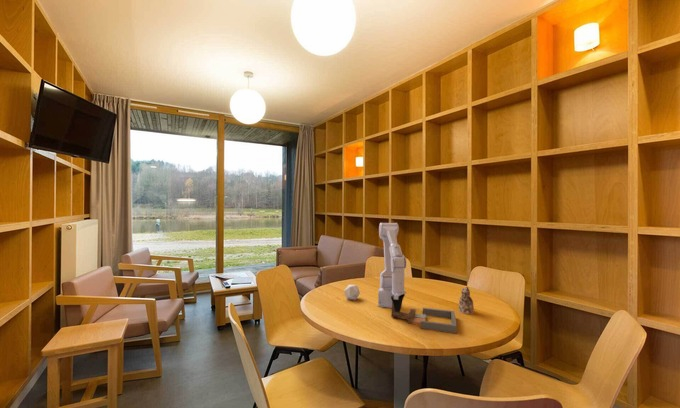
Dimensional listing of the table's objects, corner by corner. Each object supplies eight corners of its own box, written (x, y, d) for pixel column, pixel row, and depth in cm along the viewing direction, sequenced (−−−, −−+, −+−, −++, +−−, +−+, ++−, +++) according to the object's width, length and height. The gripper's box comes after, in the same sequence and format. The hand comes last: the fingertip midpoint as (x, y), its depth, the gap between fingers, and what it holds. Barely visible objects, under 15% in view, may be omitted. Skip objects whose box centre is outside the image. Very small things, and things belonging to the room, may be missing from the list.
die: (350, 303, 162) (361, 289, 163) (339, 293, 166) (349, 279, 167) (354, 304, 169) (364, 290, 170) (343, 295, 173) (353, 281, 174)
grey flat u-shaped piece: (420, 328, 128) (420, 321, 128) (422, 313, 146) (422, 307, 146) (456, 333, 123) (456, 326, 123) (454, 317, 141) (454, 311, 141)
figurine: (456, 311, 149) (456, 287, 149) (461, 308, 154) (462, 285, 154) (470, 315, 144) (470, 290, 144) (476, 311, 149) (476, 288, 149)
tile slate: (414, 320, 138) (414, 316, 138) (415, 316, 143) (415, 313, 143) (425, 321, 136) (425, 318, 136) (426, 317, 141) (426, 314, 141)
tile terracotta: (413, 324, 132) (413, 321, 132) (414, 320, 137) (414, 317, 137) (424, 326, 131) (424, 322, 131) (425, 322, 135) (425, 318, 135)
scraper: (389, 319, 136) (391, 300, 136) (393, 311, 146) (394, 293, 146) (413, 324, 132) (414, 304, 132) (415, 315, 143) (416, 297, 143)
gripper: (405, 286, 132) (404, 316, 132) (408, 278, 146) (408, 306, 146) (389, 284, 134) (389, 314, 134) (393, 277, 148) (393, 304, 148)
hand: (397, 310), depth 140 cm, fingers closed on scraper, 3 cm apart
